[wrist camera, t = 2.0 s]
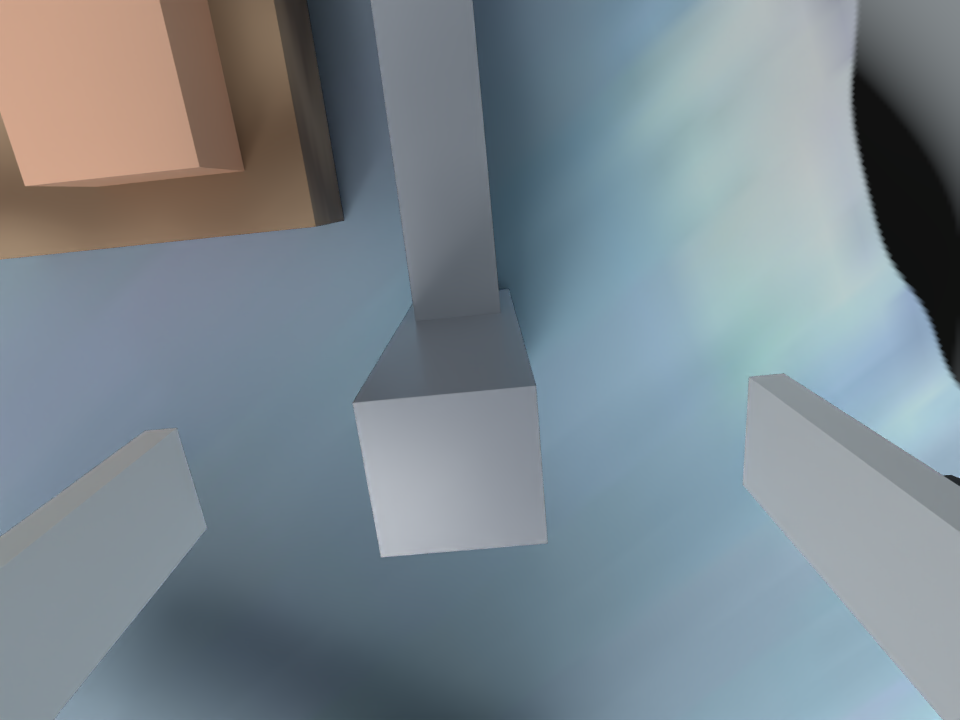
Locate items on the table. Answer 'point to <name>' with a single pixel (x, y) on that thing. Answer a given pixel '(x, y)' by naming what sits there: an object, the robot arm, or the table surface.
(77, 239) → the brown wooden board
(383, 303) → the table surface
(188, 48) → the tile
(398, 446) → the scraper
